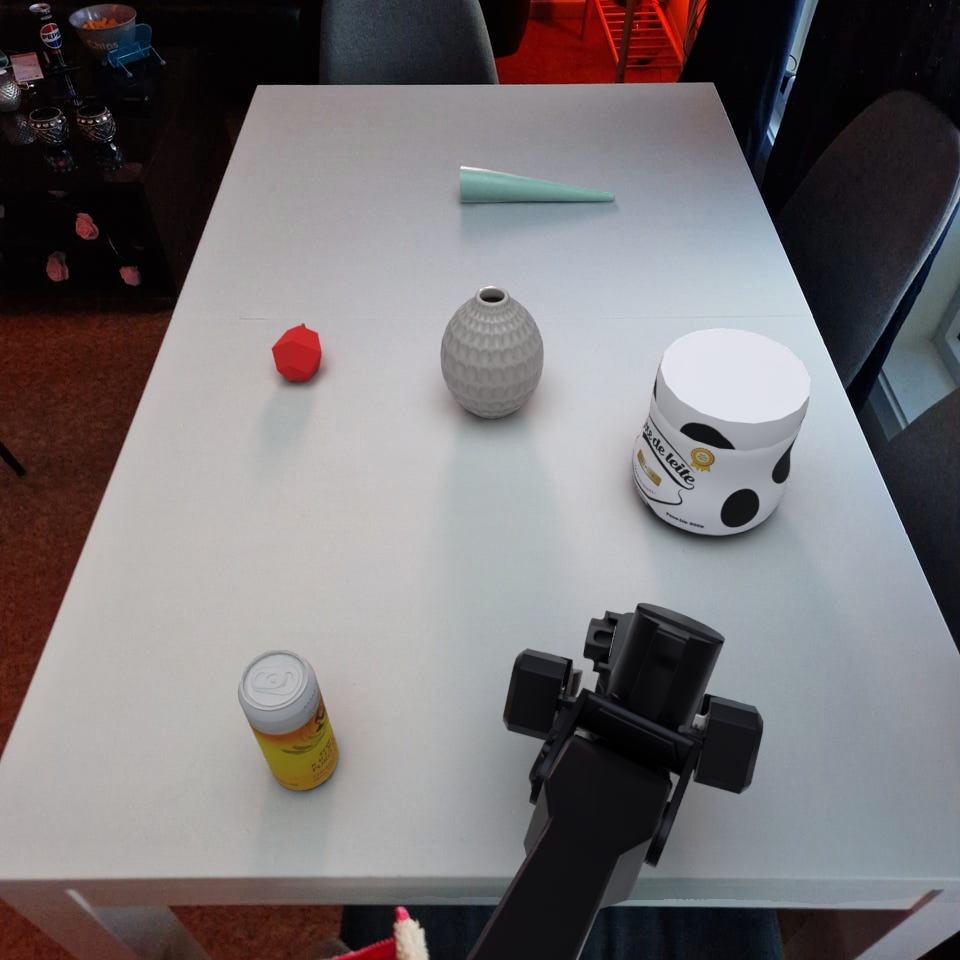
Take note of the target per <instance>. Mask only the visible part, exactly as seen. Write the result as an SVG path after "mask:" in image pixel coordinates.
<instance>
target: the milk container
mask: <svg viewBox="0 0 960 960" xmlns="http://www.w3.org/2000/svg"><path fill="white" fill-rule="evenodd" d="M810 394H811V376H810V375H809V373H808V370H807V367H806V366H805V364H804V362H803V361H802V360H801V359H800V358H799V357H798V356H796V354H795V353H794V352H792V351H791V350H790V349H789V348H788V347H787V346H785V345H783V344H781V343H780V342H777V341H776V340H773V339H771V338H770V337H768V336H766V335H762V334H758V333H755V332H751V331H747V330H745V329H737V328H723V327H715V328H707V329H700V330H694V331H693V332H690V333H688V334H686V335H683V336H681V337H678V338H677V339H675V340H674V341H673V343H672V344H670V346H669V347H668V348H666V349H665V350H664V352H663V354H662V356H661V359H660V362H659V364H658V368H657V372H656V376H655V379H654V385H653V388H652V392H651V398H650V403H649V410H648V414H647V415H648V416H647V418H646V419H645V421H644V422H643V424H642V425H641V428H640V429H639V432H638V433H637V436H636V438H635V442H634V444H633V449H632V455H631V469H632V478H633V484H634V487H635V489H636V491H637V493H638V495H639V496H640V499H641V500H642V501H643V503H644V504H645V506H646V507H647V508H648V509H649V510H650V511H651V512H652V513H653V514H654V515H656V516H657V517H659V518H660V519H661V520H663V521H664V522H666V523H667V524H668V525H671V526H673V527H675V528H677V529H680V530H683V531H686V532H688V533H691V534H696V535H703V536H713V537H722V536H724V537H725V536H730V535H736V534H741V533H743V532H746V531H749V530H751V529H753V528H754V527H757V526H758V525H760V524H761V523H762V522H764V521H765V520H766V519H767V518H769V516H770V515H771V514H772V513H773V511H774V510H775V509H776V507H777V506H778V505H779V503H780V502H781V500H782V498H783V497H784V494H785V492H786V490H787V487H788V484H789V480H790V476H791V452H792V449H793V447H794V444H795V443H796V440H797V437H798V435H799V433H800V431H801V428H802V425H803V420H804V419H805V417H806V415H807V412H808V408H809V403H810V396H811V395H810Z"/></svg>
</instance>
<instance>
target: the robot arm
mask: <svg viewBox="0 0 960 960" xmlns="http://www.w3.org/2000/svg"><path fill="white" fill-rule="evenodd" d="M725 641H726V639H725V636H723V634H721V633H719V631H717V630H715V629H713V628H712V627H710V626H708V625H706V624H704V623H703V622H701V621H699V620H696V619H694V618H692V617H690V616H688V615H685V614H683V613H680V612H677V611H676V610H672V609H670V608H666V607H663V606H660V605H656V604H652V603H649V602H648V603H647V602H639V603H637V604H636V607H635V610H634V612H633V611H631V612H629V611H628V612H625V613H618V612H614V611H609V610H605V613H604V616H603V618H600V619H599V618H595V617H591V618H590V620H589V624H588V628H587V632H586V636H585V640H584V646H583V651H582V652H583V653H582V657H583V658H584V659H587V660H591V661H592V662H593V666H592V672H593V673H597V674H598V676H597V679H596V684H595V687H594V691H593V690H590V689H588V688H586V687H582V688H581V690H580V686H581V682H582V677H583V673H584V670H583V669H580V668H574V659H572V658H569V657H564V656H560V655H557V654H553V653H548V652H544V651H540V650H535V649H532V648H525V649H524V650H522V651H521V652H519V653H518V654H517V656H515V658H514V659H515V660H514V663H513V666H512V670H511V675H510V680H509V685H508V690H507V695H506V699H505V705H504V709H503V715H502V722H503V724H504V726H505V728H506V730H507V731H508V732H512V733H516V734H519V735H523V736H526V737H531V738H534V739H538V740H541V741H544V742H543V744H542V747H541V748H540V750H539V753H538V754H537V756H536V758H535V761H534V762H533V764H532V766H531V769H530V771H529V774H528V781H529V784H530V793H529V798H528V803H530V804H531V805H534V806H535V807H534V809H533V813H532V815H531V819H530V821H529V824H528V827H527V829H526V830H527V831H526V834H525V836H524V839H523V842H522V843H523V848H524V852H525V855H526V856H525V858H524V860H523V861H522V863H521V865H520V866H519V867H518V870H517V872H516V873H515V875H514V877H513V878H512V880H511V881H510V884H509V885H508V887H507V889H506V890H505V892H504V894H503V896H502V897H501V899H500V901H499V902H498V904H497V905H496V907H495V909H494V911H493V912H492V914H491V916H490V917H489V919H488V921H487V923H486V924H485V926H484V928H483V929H482V931H481V933H480V935H479V936H478V938H477V940H476V941H475V943H474V944H473V946H472V948H471V949H470V951H469V953H468V955H467V957H466V959H465V960H579V959H580V956H581V954H582V951H583V950H584V946H585V944H586V942H587V940H588V937H589V935H590V933H591V930H592V928H593V925H594V923H595V920H596V918H597V916H598V914H599V911H600V910H601V909H603V908H607V907H610V906H614V905H617V904H620V903H623V902H627V901H628V900H629V899H630V897H631V895H632V892H633V890H634V887H635V885H636V882H637V880H638V877H639V874H640V872H641V870H642V867H643V864H645V865H647V866H649V867H651V868H653V869H656V868H657V866H658V864H659V862H660V859H661V856H662V854H663V852H664V849H665V846H666V844H667V841H668V839H669V837H670V834H671V831H672V829H673V825H674V823H675V820H676V817H677V814H678V813H679V809H680V807H681V804H682V801H683V799H684V796H685V793H686V790H687V788H688V785H689V782H690V780H691V777H692V779H693V780H692V781H693V783H696V784H700V785H704V786H707V787H710V788H711V787H712V788H714V789H718V790H722V791H725V792H729V793H733V794H736V795H741V794H743V793H744V792H746V791H747V790H748V789H750V786H751V785H752V782H753V778H754V773H755V768H756V764H757V760H758V756H759V751H760V747H761V743H762V738H763V734H764V719H763V716H762V715H761V713H760V711H759V710H758V709H757V707H756V706H755V705H752V704H748V703H744V702H740V701H737V700H734V699H730V698H726V697H722V696H719V695H714V694H711V693H706V689H707V687H708V686H709V682H710V679H711V677H712V675H713V672H714V669H715V667H716V664H717V662H718V659H719V657H720V655H721V652H722V649H723V646H724V644H725ZM608 659H609V661H608ZM579 690H580V691H579ZM578 693H579V694H578ZM577 694H578V696H577ZM576 731H578V732H582V733H585V736H582V735H580V734H577V733H576ZM671 773H672V774H674V775H676V776H678V777H679V778H678V780H677V783H676V785H675V788H674V791H673V793H672V796H671V798H670V801H668V800H669V797H670V795H671V792H672V789H673V786H674V784H673V781H672V779H671Z"/></svg>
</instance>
